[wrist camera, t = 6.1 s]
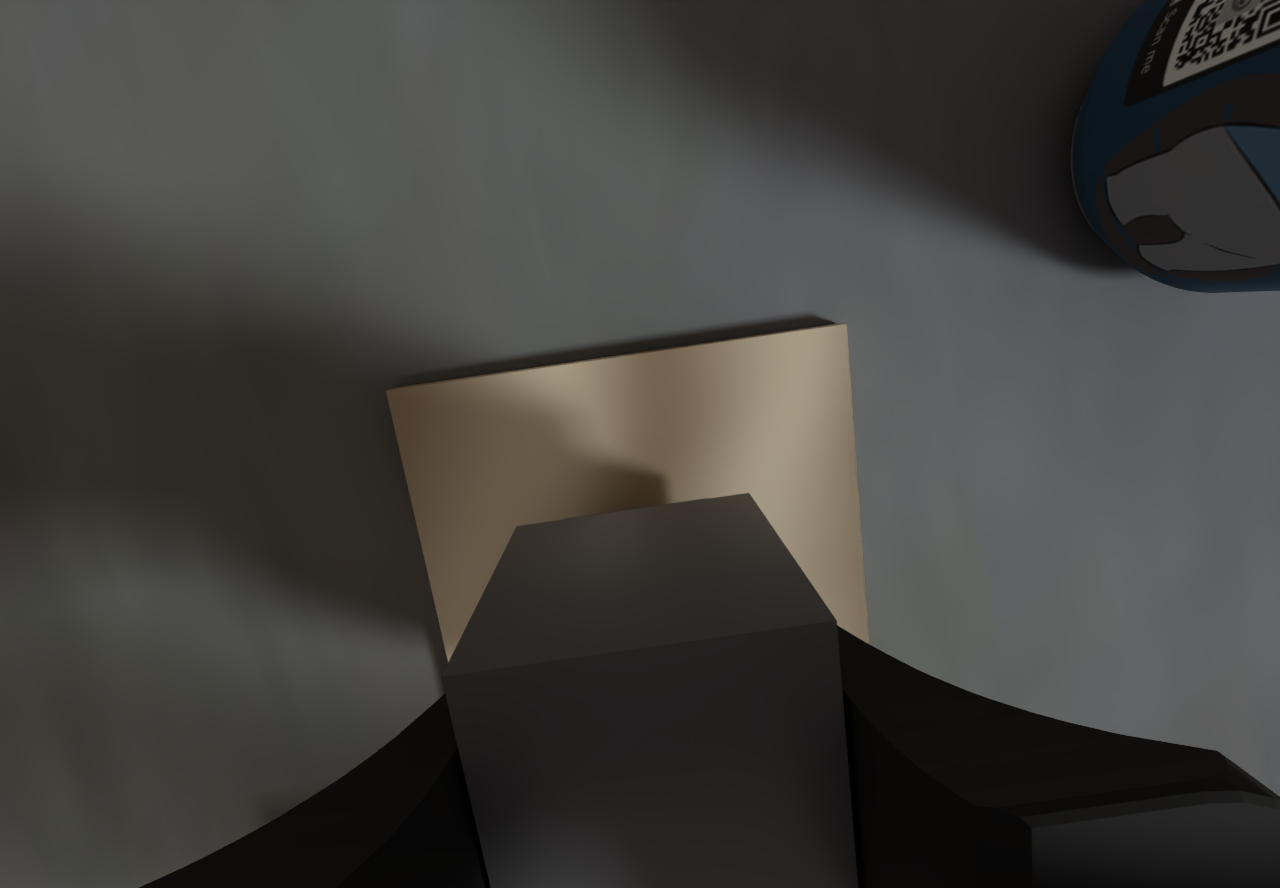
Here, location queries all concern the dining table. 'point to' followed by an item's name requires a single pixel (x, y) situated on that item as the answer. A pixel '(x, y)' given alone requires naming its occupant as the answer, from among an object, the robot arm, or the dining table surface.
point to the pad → (638, 454)
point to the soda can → (1187, 145)
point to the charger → (654, 707)
